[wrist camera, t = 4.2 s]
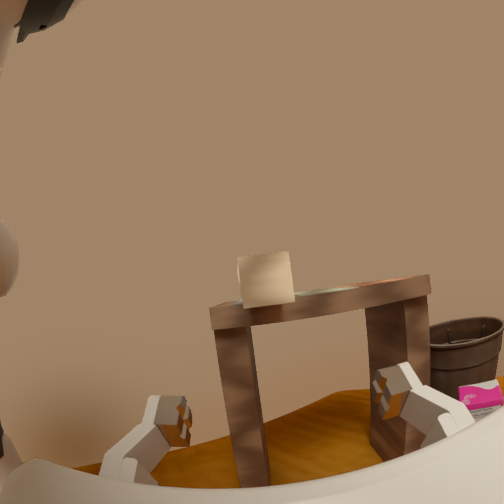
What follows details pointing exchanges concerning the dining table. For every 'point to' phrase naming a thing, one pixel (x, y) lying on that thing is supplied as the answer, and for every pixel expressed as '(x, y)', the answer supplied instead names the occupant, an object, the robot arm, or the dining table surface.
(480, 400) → the supplement box
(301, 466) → the dining table surface
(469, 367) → the plant pot
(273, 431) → the dining table surface
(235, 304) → the shelf
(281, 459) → the dining table surface
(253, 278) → the marker stick
